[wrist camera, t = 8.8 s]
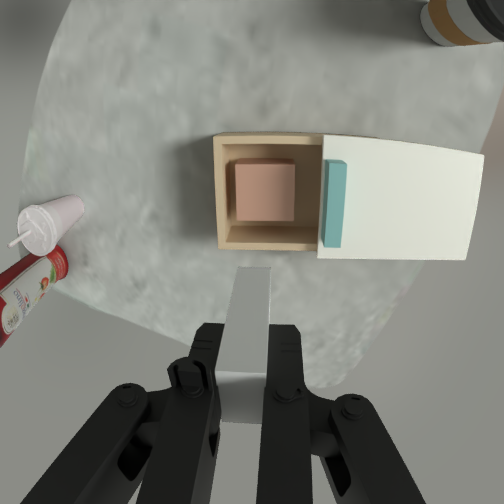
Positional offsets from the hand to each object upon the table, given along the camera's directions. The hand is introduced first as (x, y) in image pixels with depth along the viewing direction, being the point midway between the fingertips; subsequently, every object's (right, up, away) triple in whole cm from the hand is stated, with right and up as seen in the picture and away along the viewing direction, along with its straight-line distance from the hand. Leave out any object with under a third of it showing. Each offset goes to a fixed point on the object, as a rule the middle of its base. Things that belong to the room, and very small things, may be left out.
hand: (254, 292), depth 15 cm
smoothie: (-25, +8, +25) cm, 37 cm away
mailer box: (+6, +10, +22) cm, 25 cm away
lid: (+16, +7, +15) cm, 23 cm away
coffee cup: (+23, +30, +11) cm, 40 cm away
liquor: (-31, +1, +29) cm, 42 cm away
